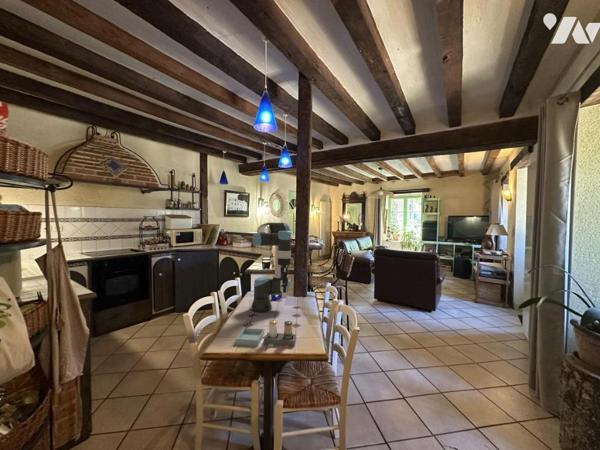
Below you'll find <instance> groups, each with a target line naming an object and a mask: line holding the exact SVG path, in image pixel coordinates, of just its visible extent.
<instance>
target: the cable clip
mask: <svg viewBox="0 0 600 450" xmlns="http://www.w3.org/2000/svg"><path fill="white" fill-rule="evenodd" d="M279 299H280V300H281V299H283V298H282V295H270V301H273V300H274V301H273V302H275V301H276V300H277V301H279Z"/></svg>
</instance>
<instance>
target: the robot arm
mask: <svg viewBox="0 0 600 450" xmlns="http://www.w3.org/2000/svg"><path fill="white" fill-rule="evenodd" d="M256 231H257V232H255V233H253V237H252V244H253V246H257V247H259V246H263V247H265V246H267V247H268V246H269V247H270V246H273V247H274V246H275V248H274V249H275V251H274V253H275V254H274V255H275V256H274V257H275V258H274V274H273V276H272V278H270V276H260V277H258V278H255V279H254V282H253V300H252V303H251V305H250V307H251V308H250V309H251V311H252V312H255V313H266V312H269V311H271V310H272V309H273V307H272V306H273V304H272V302H271V295H275V296H278V295H282V298H281V299H288V298H287V297H288V294H289V292H290V287H291V279H290V278H289V275H288V270H289V269H288V267H287V266H291V264H292V263H291V262H292V261H291V260H292V259H291V257H292V232H291V226H290V224H289V223H288V222H266V223H261V224H260V225H259V226H258V227H257V230H256Z"/></svg>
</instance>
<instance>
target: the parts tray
mask: <svg viewBox="0 0 600 450" xmlns="http://www.w3.org/2000/svg"><path fill="white" fill-rule="evenodd" d="M264 335H265V328H252V327H251V328H250V327H244V328H243V329H242V330H241V331H240V333H239V334H238V335H237V337H236V338H235V345H240V346H253V347H255V346H256V347H259V344H260V343H261V341H262V339H263V337H264Z"/></svg>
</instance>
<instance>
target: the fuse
mask: <svg viewBox="0 0 600 450" xmlns="http://www.w3.org/2000/svg"><path fill="white" fill-rule="evenodd" d="M268 322H269V323H268V333H269V338H274V339H277V333H278V320H275V319H271V320H269V321H268Z"/></svg>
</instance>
